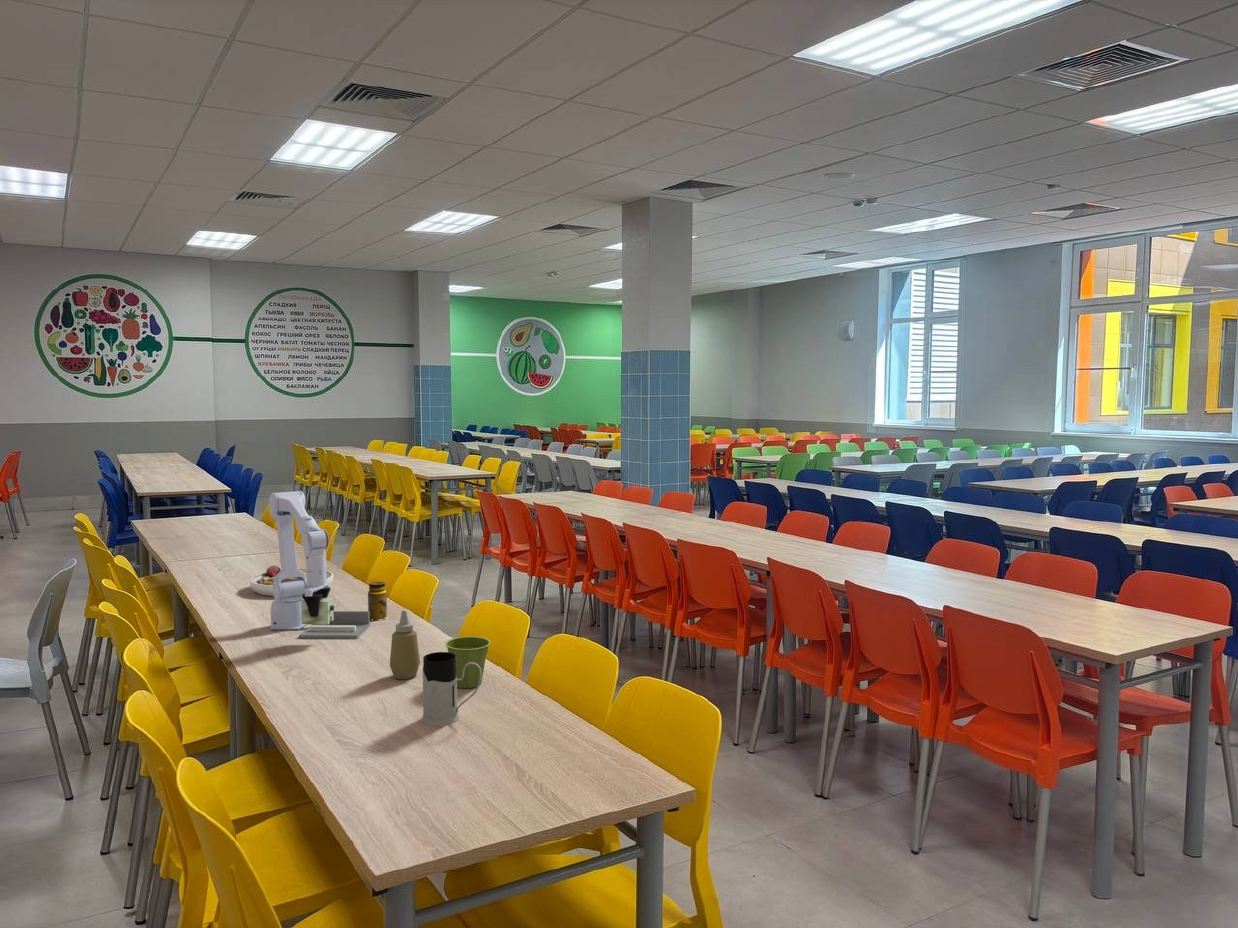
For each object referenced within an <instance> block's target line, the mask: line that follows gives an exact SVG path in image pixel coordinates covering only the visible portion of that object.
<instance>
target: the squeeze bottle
mask: <svg viewBox="0 0 1238 928" xmlns="http://www.w3.org/2000/svg"><path fill="white" fill-rule="evenodd" d="M417 634H418V632H416V631H415V630H414V623H412V622H410V621H409V617H408V611H407V610H402V611H401V613H400V619H399V622H398V623H395V631H394V632H393V633H392V634H391V644H390V645H391V646H390V657H389V667H390V670H391V672H392V674H393V678H395V679H397V680H408V679H410V680H411V679H413V678H415V677H416V676H417V675H418V671H419V668H420V665H421V661H420V660H421V658H420V651H419V641H418V635H417Z"/></svg>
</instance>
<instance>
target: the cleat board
mask: <svg viewBox="0 0 1238 928" xmlns="http://www.w3.org/2000/svg"><path fill="white" fill-rule="evenodd" d="M333 616H334V620H333V621H329V624H328V625H315V624H310V626H309V627H307V628H306V629H305V630H304V631H302V632H301V633H300V634H299V635H298V639H342V640H343V639H345V640H346V639H348V640H349V639H353V640H354V639H356V640H357V639H358V638H360V637H361V635H362V634H364V633H365V632H366V630H367V629H368V628H370V627H371V621H370V611H368V610H334V611H333Z"/></svg>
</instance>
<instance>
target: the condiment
mask: <svg viewBox="0 0 1238 928" xmlns="http://www.w3.org/2000/svg"><path fill="white" fill-rule="evenodd" d="M368 589H369V590H368V591H367V602H368V603H367V605H368V607H367V609H368V610H367V611H370V619H373V620H376V621H380V620H379V619H385V620H389V619H391V617H390V616H388V615H387V614H388V612H387V611H388V609H387V608H388V606H387V605H388V604H387V601H388V600H387V599H388V598H387V590H386V583H385V582H383V581H373V582H370V583H368ZM373 620H372V621H371V622H374V621H373Z"/></svg>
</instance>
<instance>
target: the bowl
mask: <svg viewBox="0 0 1238 928" xmlns="http://www.w3.org/2000/svg"><path fill="white" fill-rule="evenodd" d="M297 569H298V570H300V571H302V572H303V573H305V575H306V568H297ZM280 571H281V567H279V566H278V565H271V566H269V567H268V568H267V569H266V571H265V572H264V573H260V574H257V575H255V576H252V577H251V578H250V579H249V580H250V581H249V583H250V584H249V585H250V588H251V589H252V590H253V591H254V592H255V593H257V594H259V595H261V596H267V597H274V595H273V578H274V577H275V576H276V575H277V574H278V573H279V572H280ZM291 579H298V578H296V577H293V578H286V579H283V580H282V581H284V580H291ZM326 579H328V584H330V586H331V585H332V584H333V581H334V573H333V572H331V571H329V570H326Z"/></svg>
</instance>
